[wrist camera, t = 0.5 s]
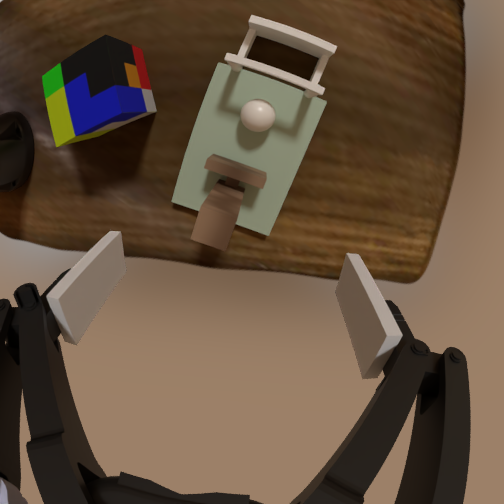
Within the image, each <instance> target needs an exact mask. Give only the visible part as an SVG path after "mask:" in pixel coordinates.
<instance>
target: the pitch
mask: <svg viewBox="0 0 504 504" xmlns="http://www.w3.org/2000/svg"><path fill="white" fill-rule="evenodd" d="M249 27H250V29H249V31H248V33H247V35H246V37H245V39H244V42H243V44H242V46H241V48H240V51H239V53H238V55H235V54H230V53H227V54H226V56H225V59H224V60H225V61H227V62H228V64H229V65H226V64H222V63H219V62H218V65H217V67H216V70H215V72H214V75H213V77H212V80H211V82H210V85H209V87H208V90H207V92H206V95H205V98H204V100H203V103H202V106H201V109H200V111H199V114H198V117H197V120H196V123H195V126H194V129H193V132H192V135H191V138H190V141H189V144H188V147H187V150H186V153H185V157H184V160H183V163H182V166H181V170H180V173H179V177H178V180H177V184H176V187H175V191H174V195H173V198H172V202H174V203H177V204H179V205H182V206H185V207H188V208H191V209H194V210H197V211H199V210H200V207H201V205H202V204H203V202H204V201H205V199H206V198H207V196H208V195H209V193H210V192H211V190H212V189H213V187H214V186H215V184H216V183H217V181H218V180H219V179H221V180H224V181H226V179H227V176H225V175H222V174H219V173H216V172H213V171H210V170H207V169H204V166H205V163H206V160H207V158H208V157H210V156H211V155H212V154H216V155H219V156H222V157H225V158H228V159H231V160H234V161H236V162H239V163H242V164H245V165H248V166H250V167H253V168H256V169H258V170H261V171H264V172H266V173H267V180H266V183H265V185H264V188H263V189H261V188H258V187H256V186H253V185H250V184H247V183H245V182H242V181H240V182H239V185H238V186H241V187H244V188H245V191H244V195H243V199H242V203H241V207H240V211H239V215H238V219H237V222H236V224H237V225H240V226H242V227H245V228H248V229H251V230H254V231H256V232H259V233H262V234H265V235H267V236H269V234H270V231H271V229H272V227H273V225H274V222H275V220H276V218H277V216H278V213H279V211H280V209H281V206H282V204H283V202H284V200H285V197H286V195H287V193H288V190H289V188H290V186H291V184H292V181H293V179H294V177H295V174H296V172H297V170H298V168H299V165H300V163H301V161H302V158H303V156H304V154H305V151H306V149H307V147H308V145H309V142H310V140H311V138H312V135H313V133H314V131H315V128H316V126H317V124H318V121H319V119H320V117H321V114H322V112H323V110H324V107H325V105H326V103H327V102H326V101H324V100H322V99H320V98H317V97H315V96H318V95H323V92H324V90H325V88H323V87H321V86H320V85H317V84H318V82H319V80H320V77H321V75H322V73H323V70H324V68H325V66H326V63H327V61H328V59H329V57H330V56H331V55H333V54H334V52H335V50H336V48H337V46H335V45H333V44H331V43H329V42H326V41H324V40H322V39H320V38H317V37H315V36H312V35H310V34H307V33H305V32H302V31H300V30H297V29H294V28H292V27H289V26H286V25H283V24H280V23H277V22H274V21H271V20H268V19H264V18H261V17H257V16H254V15H251V18H250V20H249ZM256 36H260V37H264V38H267V39H270V40H273V41H276V42H279V43H281V44H284V45H287V46H290V47H292V48H295V49H298V50H300V51H303V52H305V53H308V54H310V55H312V56H315V57H317V58H319V60H318V62H317V65H316V67H315V69H314V72H313V74H312V76H311V78H310V81H308V80H305V79H303V78H300V77H298V76H295V75H293V74H290V73H288V72H285V71H283V70H280V69H277V68H274V67H272V66H269V65H266V64H263V63H260V62H257V61H254V60H250V59H247V56H248V53H249V51H250V49H251V47H252V44H253V42H254V40H255V38H256ZM243 66H245V67H248V68H251V69H254V70H257V71H260V72H263V73H266V74H269V75H272V76H275V77H277V78H280V79H283V80H285V81H288V82H290V83H293V84H295V85H298V86H300V87H303V88H305V89H306V90H305V91H301V90H299V89H296V88H294V87H291V86H289V85H286V84H284V83H281V82H278V81H276V80H273V79H270V78H267V77H265V76H262V75H259V74H256V73H253V72H250V71H246V70H243V68H242V67H243ZM253 99H263V100H266V101H268V102H269V103H270V104H271V105H272V106H273V107H274V109H275V113H276V118H275V122H274V124H273V125H272V126H271V127H270V128H269V129H267V130H265V131H262V132H254V131H251V130H249V129H247V128H246V127H245V126H244V125H243V123H242V121H241V117H240V114H241V109H242V107H243V106H244V105H245V104H246V103H247V102H248V101H250V100H253Z"/></svg>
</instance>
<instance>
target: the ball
mask: <svg viewBox="0 0 504 504" xmlns="http://www.w3.org/2000/svg"><path fill="white" fill-rule="evenodd" d="M240 117H241V121H242V123H243V125H244V126H245V127H246V128H247V129H249V130H251V131H254V132H262V131H265V130H267V129H269V128H270V127H271V126H272V125H273V124H274V122H275V118H276V113H275V109H274V107H273V106H272V105H271V104H270V103H269V102H268V101H266V100H263V99H253V100H250V101H248V102H247V103H246V104H245V105H244V106H243V107H242V109H241V114H240Z"/></svg>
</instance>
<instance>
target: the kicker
mask: <svg viewBox="0 0 504 504" xmlns="http://www.w3.org/2000/svg"><path fill="white" fill-rule="evenodd" d="M204 169H207V170H210V171H213V172H216V173H219V174H222V175H225V176H227V179H226V181H224V180H221V179H219V180H218V181H217V183H216V184H215V186H214V187H213V189H212V190H211V192H210V193H209V195H208V196H207V198H206V199H205V201H204V202H203V204H202V205H201V207H200V210H199V213H198V217H197V220H196V223H195V226H194V230H193V233H192V237H191V239H192V240H194V241H197V242H200V243H203V244H206V245H209V246H212V247H214V248H217V249H220V250H223V251H226V248H227V246H228V243H229V240H230V238H231V235H232V232H233V230H234V227H235V224H236V222H237V219H238V215H239V211H240V207H241V203H242V199H243V195H244V191H245V188H244V187H241V186H238V185H239V182H240V181H242V182H245V183H247V184H250V185H253V186H256V187H258V188H261V189H263V188H264V185H265V183H266V180H267V173H266V172H264V171H261V170H258V169H256V168H253V167H250V166H248V165H245V164H242V163H239V162H236V161H234V160H231V159H228V158H225V157H222V156H219V155H216V154H212V155H211V156H210V157H208V158H207V160H206V163H205V166H204Z"/></svg>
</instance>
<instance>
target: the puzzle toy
mask: <svg viewBox="0 0 504 504" xmlns="http://www.w3.org/2000/svg"><path fill="white" fill-rule="evenodd" d="M42 80H43V87H44V93H45V98H46V104H47V109H48V114H49V119H50V123H51V127H52V132H53V136H54V140H55V143H56V147H60V146H63V145H67V144H71V143H74V142H78V141H82V140H86V139H90V138H94V137H99V136H101V135H103V134H105V133H107V132H109V131H111V130H113V129H116V128H118V127H120V126H122V125H125V124H127V123H129V122H132V121H134V120H137V119H139V118H142V117H144V116H147V115H149V114H152V113H155V112H157V111H156V107H155V103H154V99H153V95H152V91H151V87H150V83H149V79H148V74H147V70H146V66H145V61H144V57H143V52H142V49H140V48H137V47H135V46H133V45H130V44H128V43H126V42H123V41H121V40H118V39H116V38H113V37H111V36H108V35H104V36H102V37H101V38H99V39H97V40H95V41H94V42H92V43H90V44H89V45H87V46H85V47H84V48H82V49H80V50H79V51H77V52H76V53H74V54H73V55H71V56H70V57H68V58H67V59H65V60H64V61H62V62H61V63H60V64H58V65H57V66H55V67H54V68H53V69H51V70H50V71H49V72H47V73H46V74H45V75H44V76H42Z"/></svg>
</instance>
